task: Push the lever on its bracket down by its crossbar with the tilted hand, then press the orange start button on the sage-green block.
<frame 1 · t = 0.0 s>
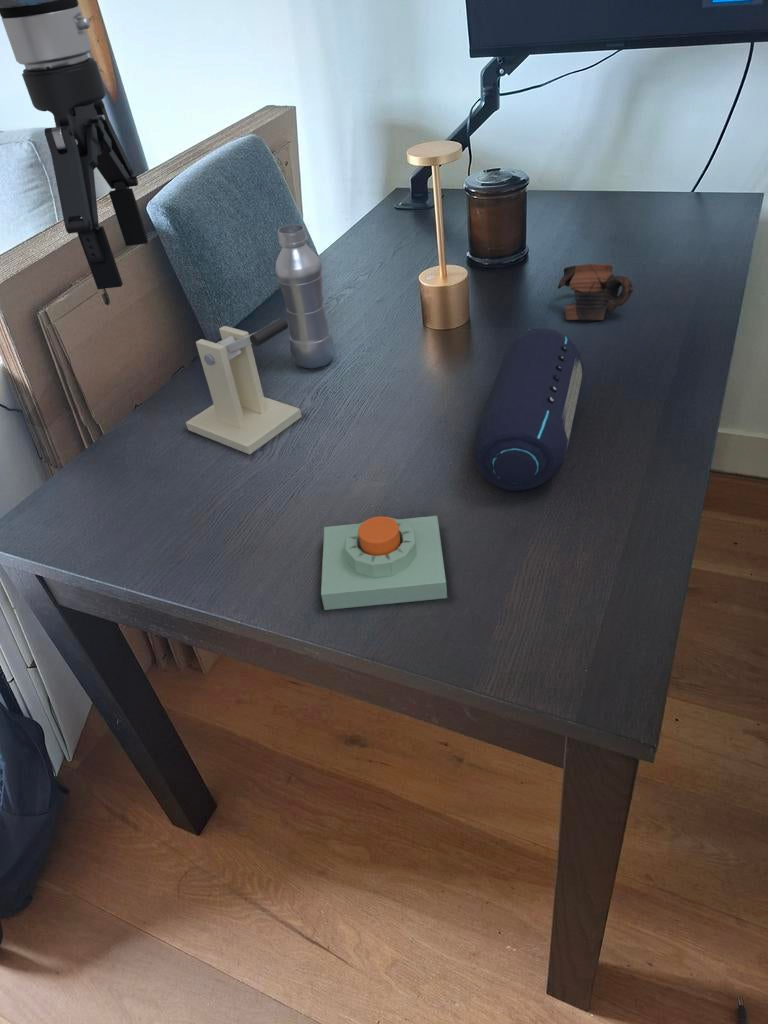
hand: (124, 264, 91), 22 cm above the table, tool pointing down, fingers open, 13 cm apart
pottery mug: (593, 311, 117), on the table
start button: (379, 536, 75), point 4 cm above the table, slide at 0.1 cm
bracket: (244, 423, 102), on the table
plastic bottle: (315, 364, 114), on the table
portable speaker: (531, 441, 92), on the table
button block: (384, 568, 77), on the table
lever: (244, 341, 92), point 13 cm above the table, hinge at 26.0°
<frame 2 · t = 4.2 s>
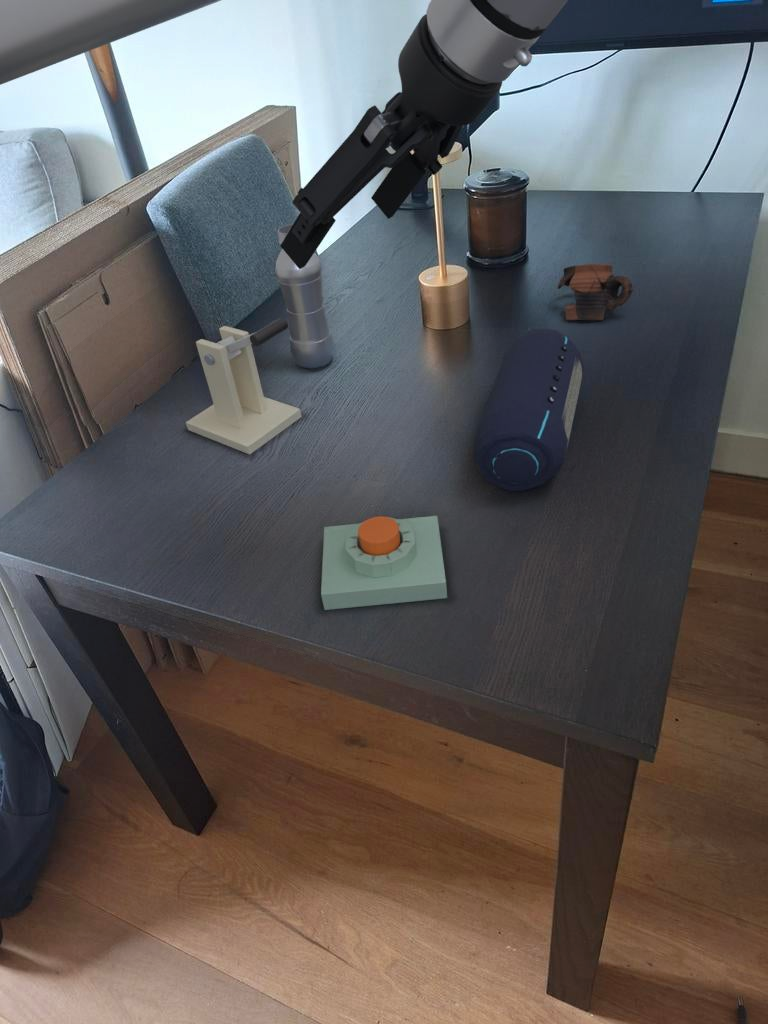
hand: (339, 230, 73), 29 cm above the table, tool tilted 45°, fingers open, 13 cm apart
nothing on the table moved.
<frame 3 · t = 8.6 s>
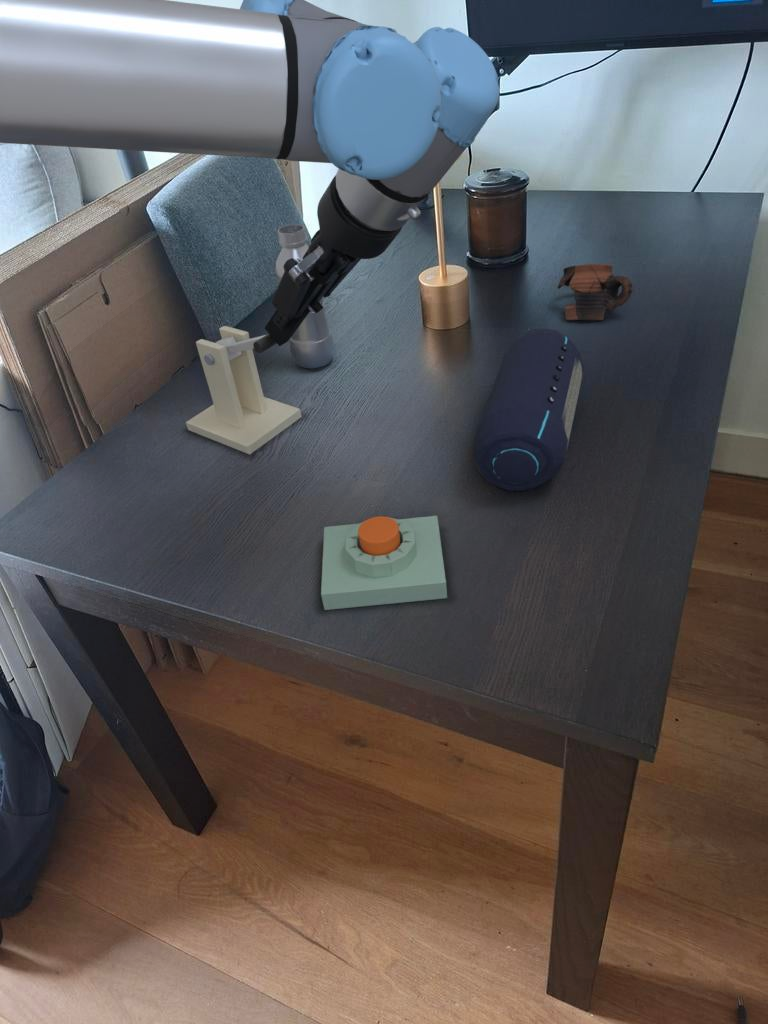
hand: (276, 334, 87), 15 cm above the table, tool tilted 45°, fingers closed
lever: (246, 344, 92), point 13 cm above the table, hinge at 21.1°, touching gripper
everything else where it was.
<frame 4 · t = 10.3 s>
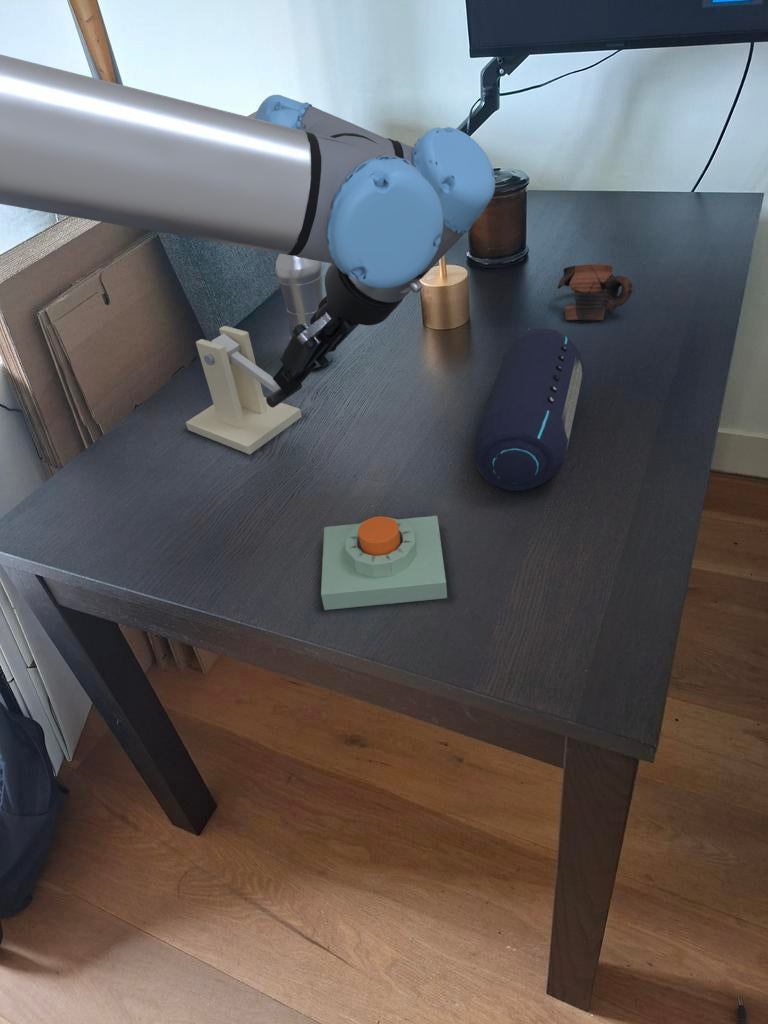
hand: (284, 384, 92), 9 cm above the table, tool tilted 45°, fingers closed
lever: (252, 369, 94), point 9 cm above the table, hinge at -21.7°, touching gripper
everything else where it was.
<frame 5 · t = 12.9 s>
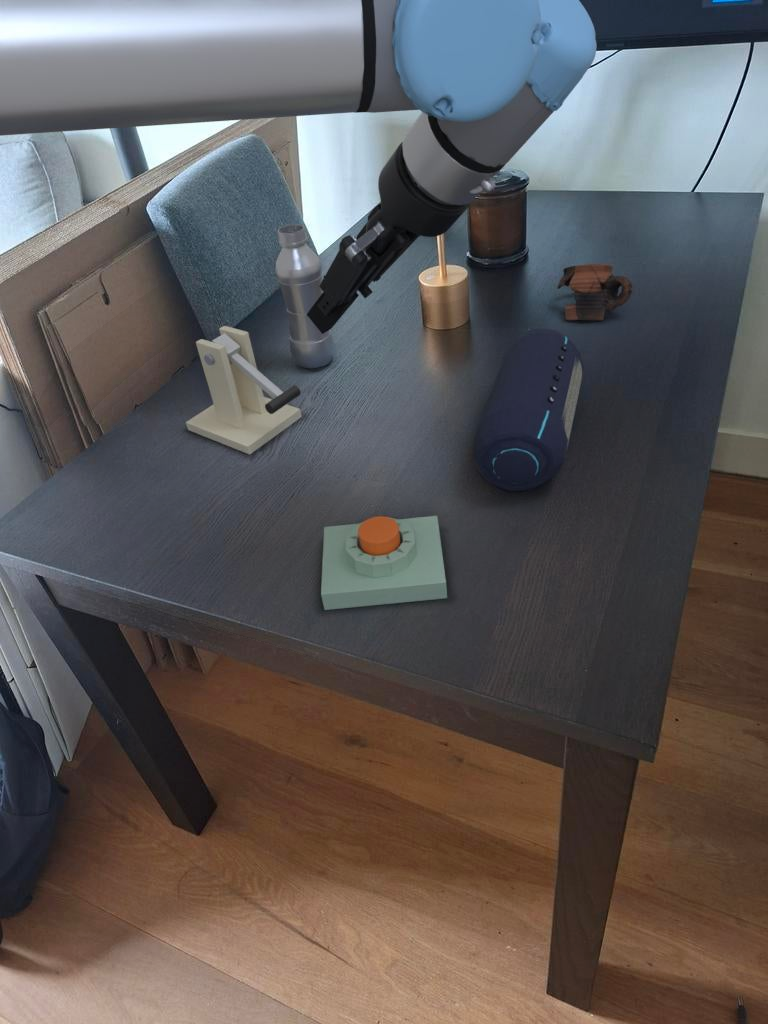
hand: (319, 321, 82), 18 cm above the table, tool tilted 45°, fingers closed
lever: (252, 372, 95), point 9 cm above the table, hinge at -28.5°
everything else where it was.
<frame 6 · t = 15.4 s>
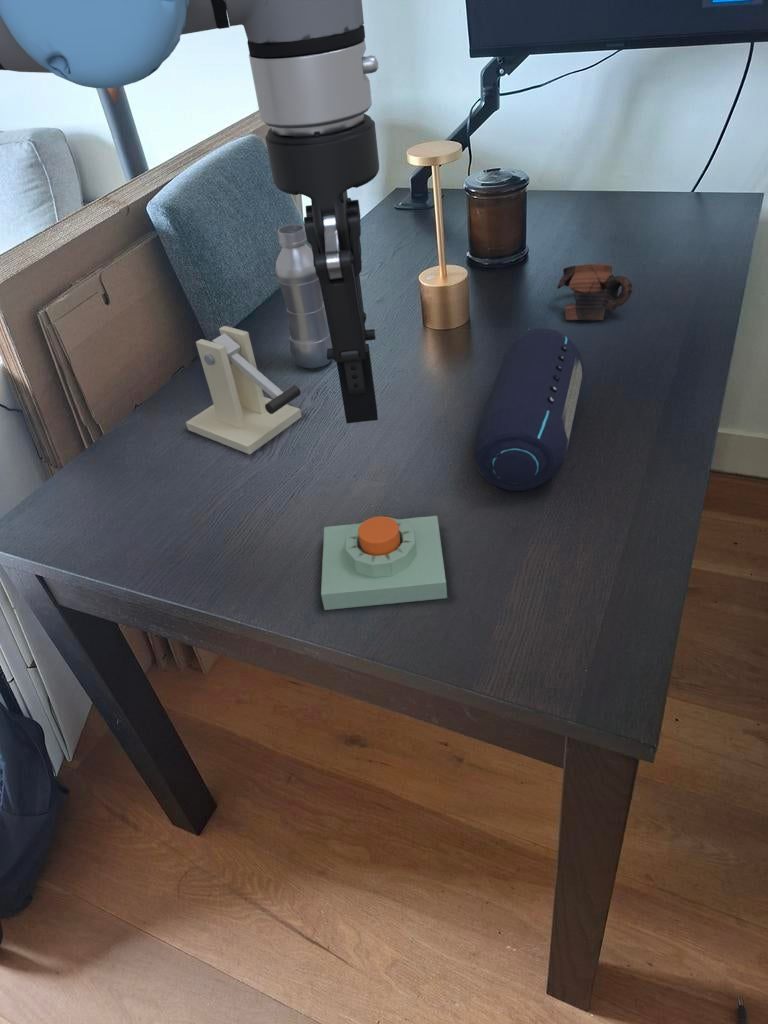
hand: (362, 416, 66), 18 cm above the table, tool pointing down, fingers closed
nothing on the table moved.
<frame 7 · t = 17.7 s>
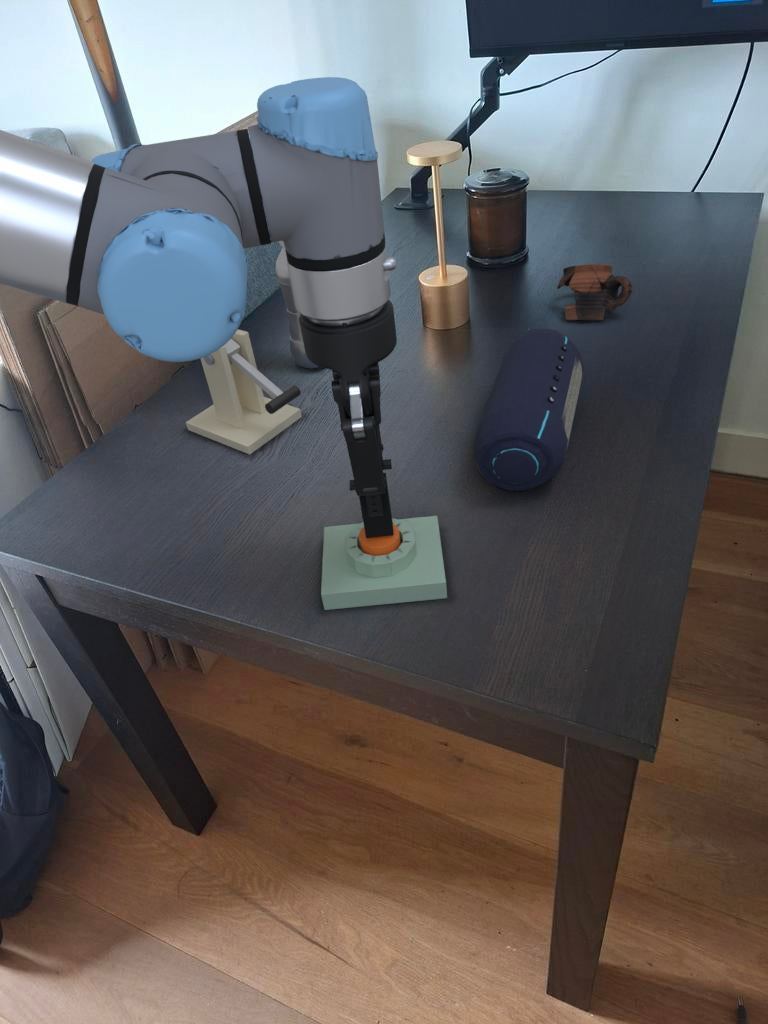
hand: (379, 531, 74), 5 cm above the table, tool pointing down, fingers closed
start button: (379, 540, 75), point 4 cm above the table, slide at -0.5 cm, touching gripper
everything else where it was.
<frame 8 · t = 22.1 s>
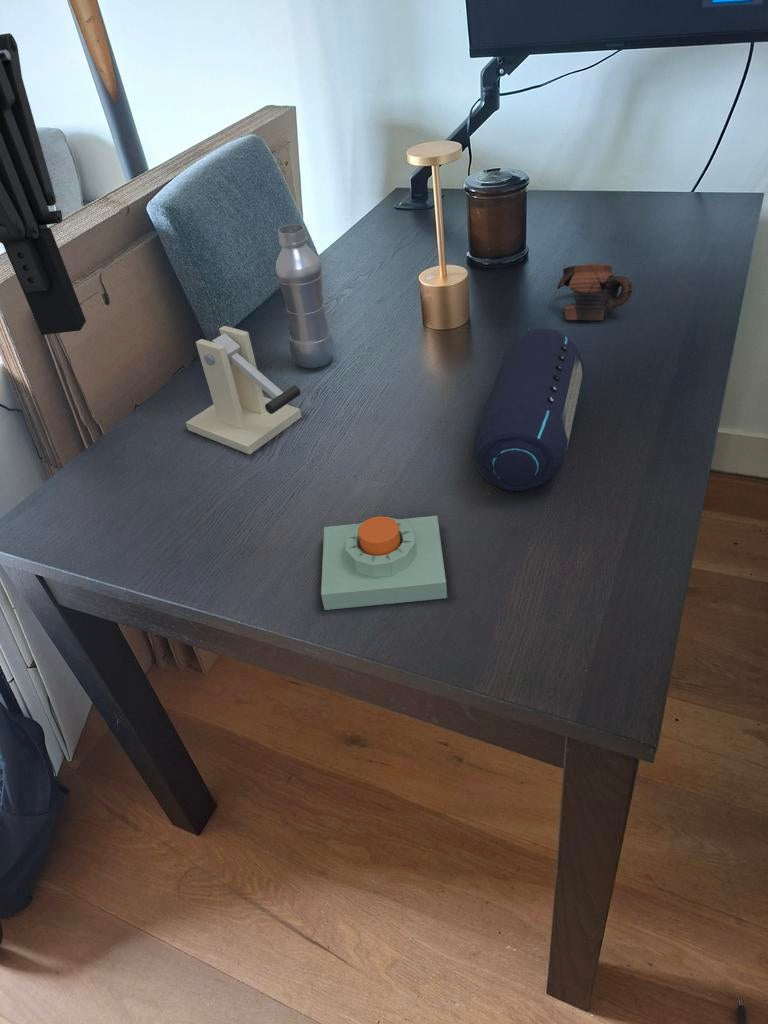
hand: (64, 327, 52), 32 cm above the table, tool pointing down, fingers closed
start button: (379, 535, 75), point 4 cm above the table, slide at 0.1 cm
everything else where it was.
at the end: lever at -28° (first picture: +26°); start button pushed in 1.0 cm at the most during the clip, back to where it started at the end; start button slide at 0.1 cm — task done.
